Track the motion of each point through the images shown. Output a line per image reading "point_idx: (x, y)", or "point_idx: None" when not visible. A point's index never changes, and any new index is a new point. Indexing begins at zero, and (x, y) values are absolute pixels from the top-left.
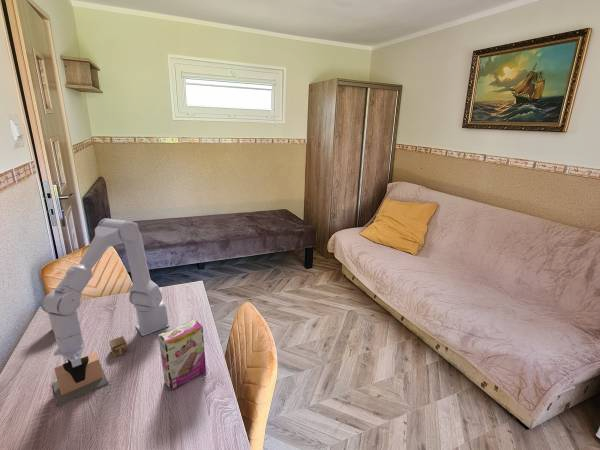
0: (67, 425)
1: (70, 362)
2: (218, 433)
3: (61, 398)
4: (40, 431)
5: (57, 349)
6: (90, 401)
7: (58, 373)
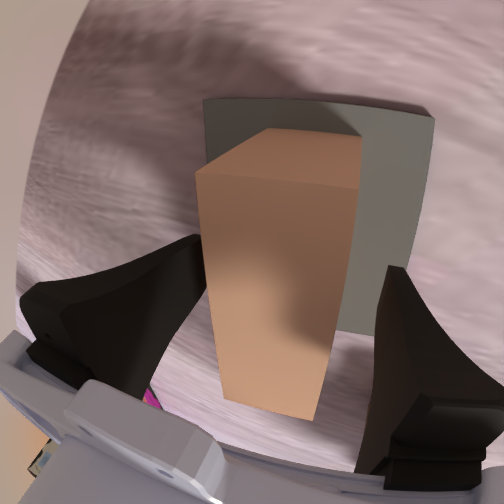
0: (90, 129)
1: (67, 354)
2: (27, 327)
3: (241, 124)
4: (109, 41)
5: (177, 488)
6: (160, 220)
7: (224, 197)
